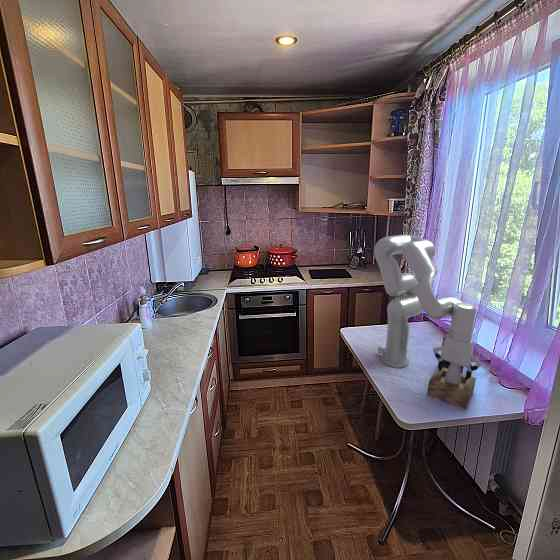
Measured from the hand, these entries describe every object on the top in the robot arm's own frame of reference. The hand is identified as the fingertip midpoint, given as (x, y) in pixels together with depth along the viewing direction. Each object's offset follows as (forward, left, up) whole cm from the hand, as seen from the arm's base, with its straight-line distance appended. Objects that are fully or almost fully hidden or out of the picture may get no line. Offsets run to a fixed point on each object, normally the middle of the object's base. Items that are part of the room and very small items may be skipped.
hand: (453, 374), depth 127 cm
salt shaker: (0, 0, -5) cm, 5 cm away
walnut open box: (0, 0, -9) cm, 9 cm away
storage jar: (-5, +18, -9) cm, 21 cm away
